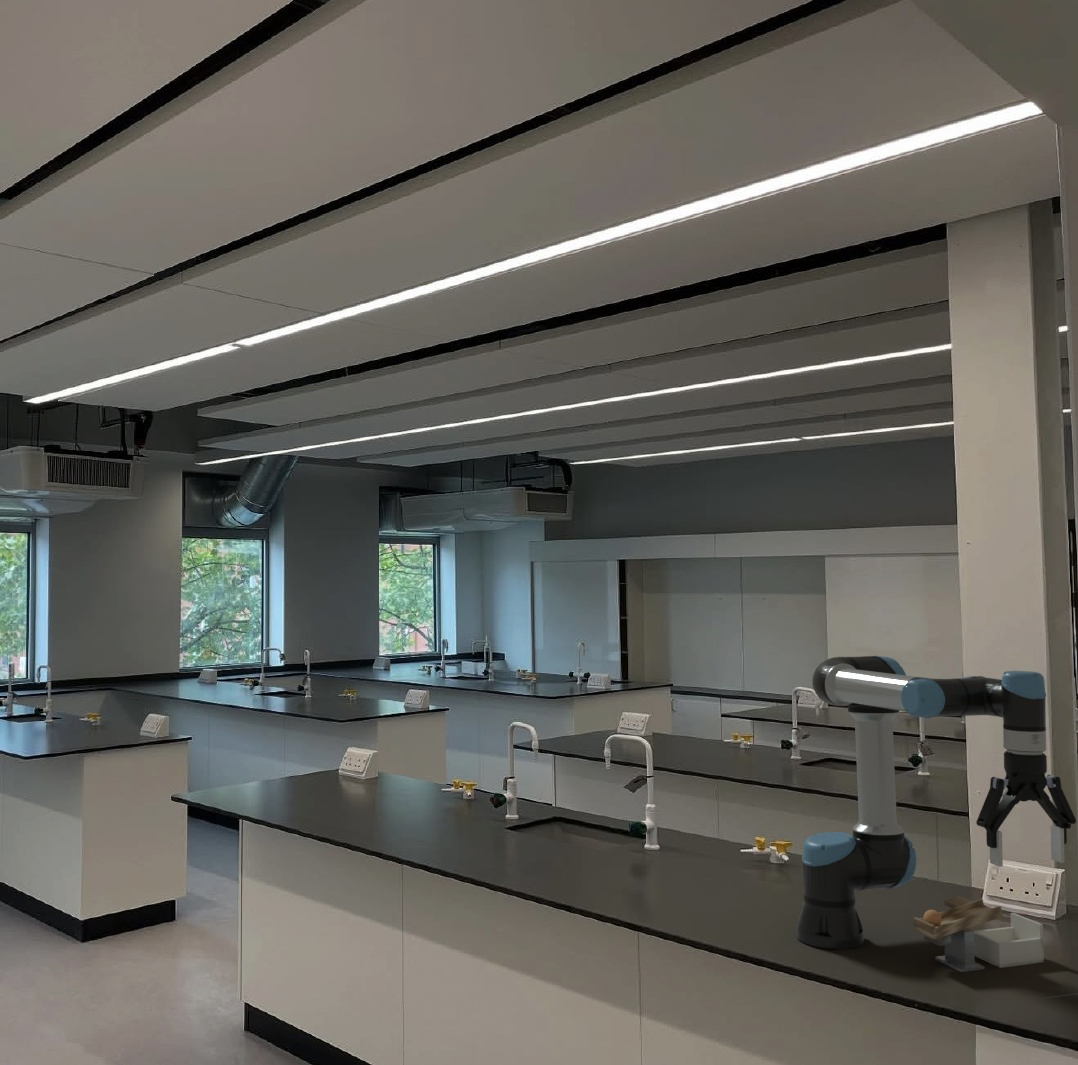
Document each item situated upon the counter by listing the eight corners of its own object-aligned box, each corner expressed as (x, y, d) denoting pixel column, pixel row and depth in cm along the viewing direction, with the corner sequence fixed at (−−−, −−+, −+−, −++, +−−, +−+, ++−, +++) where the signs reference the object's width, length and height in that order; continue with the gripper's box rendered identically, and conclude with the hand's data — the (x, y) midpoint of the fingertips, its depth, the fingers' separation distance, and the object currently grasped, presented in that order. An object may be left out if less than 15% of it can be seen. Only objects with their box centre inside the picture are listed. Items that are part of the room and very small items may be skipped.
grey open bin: (971, 954, 225) (970, 917, 226) (1014, 949, 229) (1013, 912, 229) (999, 967, 217) (998, 929, 218) (1044, 962, 221) (1042, 924, 221)
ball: (922, 927, 219) (917, 911, 219) (935, 921, 220) (931, 905, 220) (933, 932, 216) (929, 916, 216) (947, 926, 217) (942, 910, 217)
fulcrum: (961, 972, 215) (960, 934, 215) (935, 959, 222) (934, 922, 223) (984, 969, 216) (983, 931, 217) (958, 956, 224) (957, 920, 225)
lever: (935, 949, 214) (931, 926, 214) (896, 929, 227) (892, 908, 227) (1004, 925, 220) (1000, 903, 220) (962, 908, 232) (958, 887, 232)
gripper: (980, 756, 192) (982, 871, 191) (1094, 752, 197) (1097, 864, 196) (955, 750, 199) (957, 861, 198) (1066, 747, 205) (1069, 854, 203)
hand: (1027, 863), depth 197 cm, fingers open, 13 cm apart
